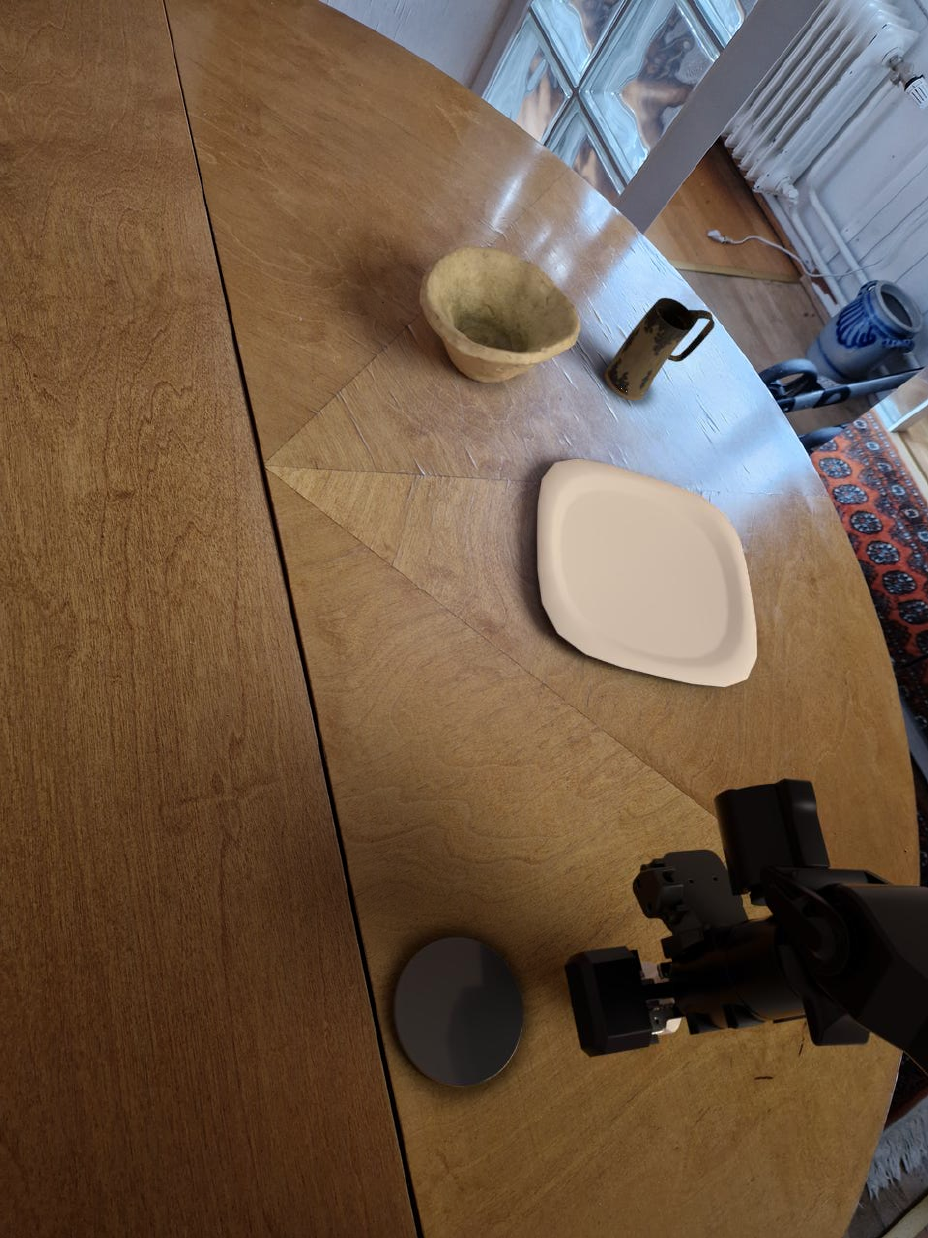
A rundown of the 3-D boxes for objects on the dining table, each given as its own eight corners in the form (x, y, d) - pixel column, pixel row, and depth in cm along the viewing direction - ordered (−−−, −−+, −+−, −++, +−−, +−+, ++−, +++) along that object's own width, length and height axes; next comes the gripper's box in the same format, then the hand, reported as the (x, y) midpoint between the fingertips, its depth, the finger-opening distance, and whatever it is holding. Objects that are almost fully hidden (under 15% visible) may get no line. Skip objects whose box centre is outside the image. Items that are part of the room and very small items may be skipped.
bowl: (474, 435, 100) (403, 356, 89) (474, 315, 108) (409, 228, 97) (589, 396, 94) (529, 305, 83) (581, 271, 102) (525, 172, 90)
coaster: (539, 1060, 65) (542, 1059, 65) (415, 1108, 61) (417, 1108, 60) (496, 923, 69) (498, 921, 69) (376, 959, 65) (378, 957, 64)
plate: (530, 654, 83) (538, 646, 82) (531, 450, 96) (538, 440, 95) (758, 707, 90) (769, 700, 89) (730, 510, 103) (739, 501, 102)
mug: (607, 395, 105) (662, 319, 96) (600, 360, 108) (652, 283, 98) (664, 407, 108) (723, 334, 99) (656, 373, 111) (712, 299, 101)
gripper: (834, 831, 62) (706, 884, 75) (605, 849, 55) (505, 904, 67) (895, 1002, 57) (746, 1028, 70) (650, 1047, 50) (533, 1067, 62)
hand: (635, 1002), depth 67 cm, fingers closed on salt shaker, 5 cm apart
